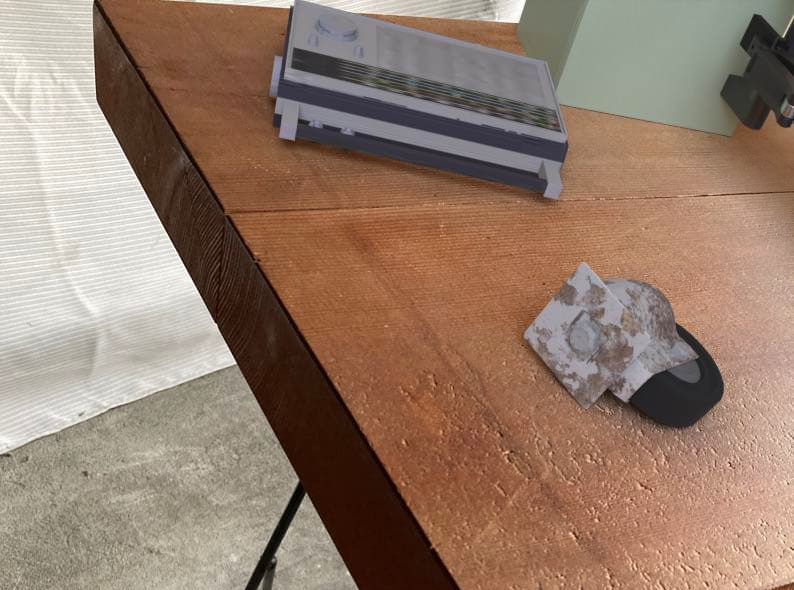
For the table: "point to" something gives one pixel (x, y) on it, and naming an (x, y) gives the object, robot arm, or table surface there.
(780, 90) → the robot arm
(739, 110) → the cabinet door
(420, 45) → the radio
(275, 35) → the table surface
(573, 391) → the camo patterned piece
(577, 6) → the cabinet
